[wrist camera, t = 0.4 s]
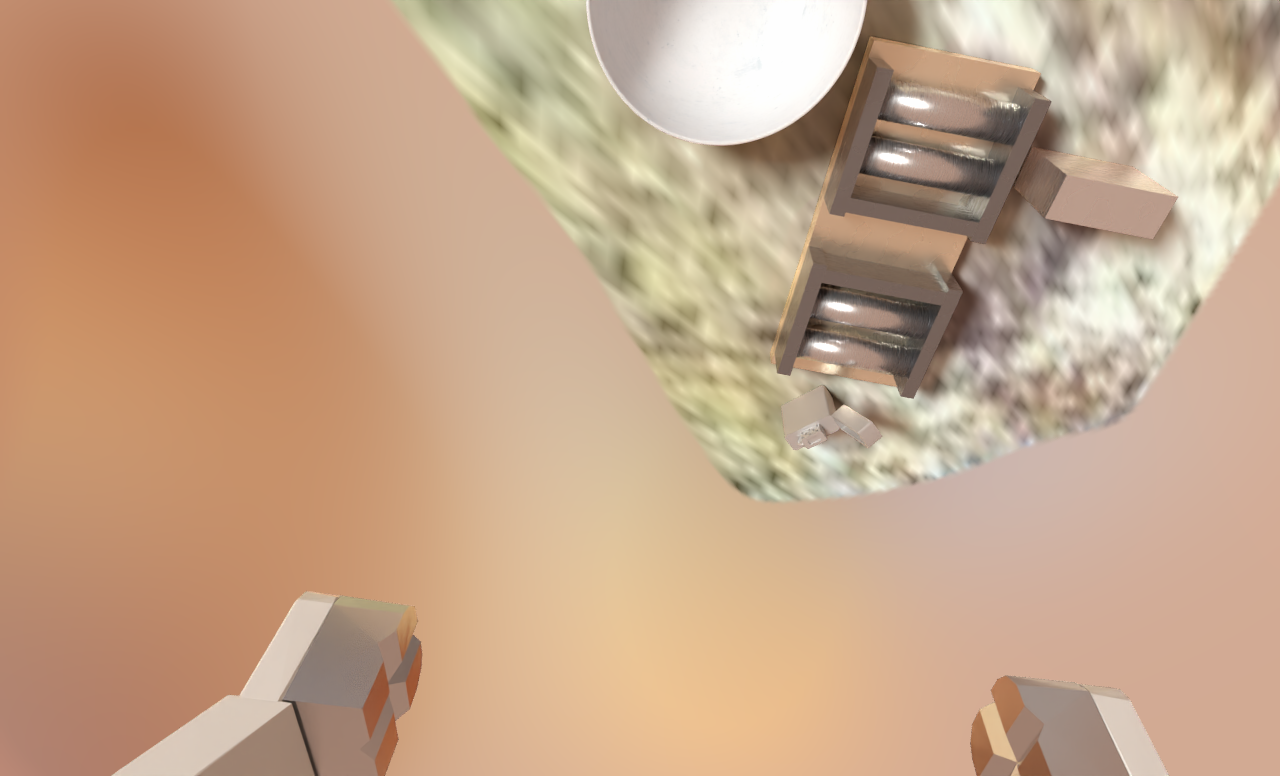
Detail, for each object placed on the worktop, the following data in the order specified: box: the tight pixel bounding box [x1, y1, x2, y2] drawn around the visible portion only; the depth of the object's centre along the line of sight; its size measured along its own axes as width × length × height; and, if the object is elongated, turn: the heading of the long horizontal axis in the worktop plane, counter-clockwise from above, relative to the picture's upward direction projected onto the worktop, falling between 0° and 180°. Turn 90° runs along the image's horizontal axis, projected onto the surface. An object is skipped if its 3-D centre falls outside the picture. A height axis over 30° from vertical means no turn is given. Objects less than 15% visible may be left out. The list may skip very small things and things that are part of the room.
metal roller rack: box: [770, 36, 1052, 398], centre depth 52 cm, size 24×11×4 cm, turn 170°
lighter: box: [781, 385, 882, 450], centre depth 59 cm, size 7×2×8 cm, turn 126°
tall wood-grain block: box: [1014, 147, 1178, 239], centre depth 48 cm, size 3×7×6 cm, turn 80°
